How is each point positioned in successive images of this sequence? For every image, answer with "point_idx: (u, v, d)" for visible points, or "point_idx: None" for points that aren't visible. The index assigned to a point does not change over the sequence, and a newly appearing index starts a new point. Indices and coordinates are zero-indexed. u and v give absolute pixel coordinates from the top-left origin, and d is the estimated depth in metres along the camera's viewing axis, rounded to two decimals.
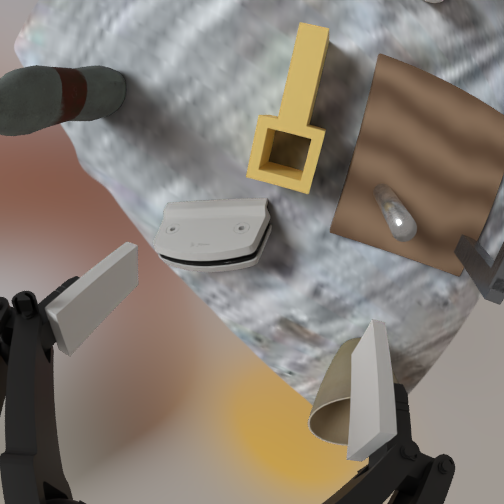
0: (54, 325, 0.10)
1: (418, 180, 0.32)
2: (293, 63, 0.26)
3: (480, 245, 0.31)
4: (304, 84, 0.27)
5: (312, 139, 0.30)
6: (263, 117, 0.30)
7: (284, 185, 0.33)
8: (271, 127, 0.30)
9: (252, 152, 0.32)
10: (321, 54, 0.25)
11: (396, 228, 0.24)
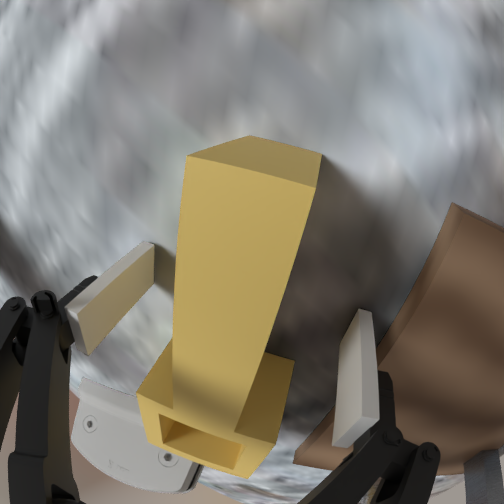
0: (74, 324, 0.10)
1: (444, 426, 0.15)
2: (181, 319, 0.09)
3: (499, 462, 0.14)
4: (221, 373, 0.10)
5: (248, 446, 0.13)
6: (145, 398, 0.13)
7: (208, 466, 0.16)
8: (165, 415, 0.13)
9: (146, 427, 0.15)
10: (273, 303, 0.08)
11: None
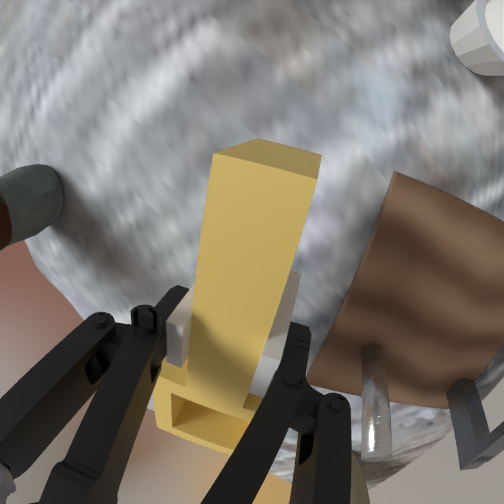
0: (174, 338, 0.11)
1: (418, 337, 0.26)
2: (201, 293, 0.11)
3: (476, 390, 0.25)
4: (234, 345, 0.12)
5: None
6: (159, 377, 0.15)
7: (215, 449, 0.17)
8: (177, 394, 0.15)
9: (157, 410, 0.17)
10: (282, 276, 0.10)
11: (367, 456, 0.17)
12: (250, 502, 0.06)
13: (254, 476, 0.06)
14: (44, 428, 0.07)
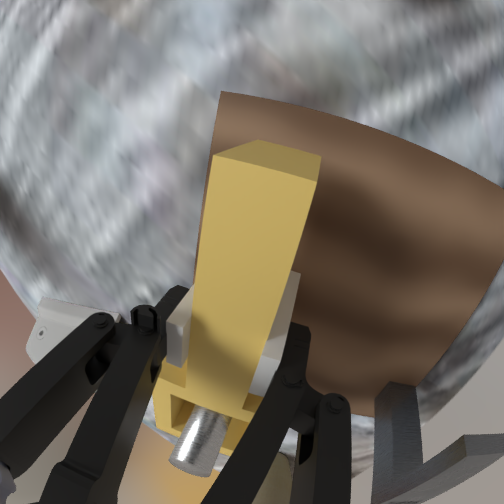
0: (174, 338, 0.11)
1: (306, 319, 0.22)
2: (201, 295, 0.11)
3: (415, 400, 0.21)
4: (233, 346, 0.12)
5: None
6: (159, 379, 0.15)
7: None
8: (177, 395, 0.15)
9: (156, 411, 0.17)
10: (282, 278, 0.10)
11: (176, 464, 0.13)
12: (250, 502, 0.06)
13: (254, 476, 0.06)
14: (44, 428, 0.07)
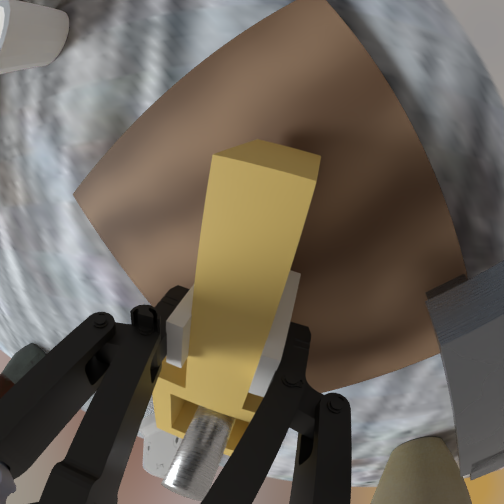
0: (174, 338, 0.11)
1: None
2: (201, 295, 0.11)
3: None
4: (233, 346, 0.12)
5: None
6: (159, 378, 0.15)
7: None
8: (177, 395, 0.15)
9: (156, 410, 0.17)
10: (281, 278, 0.10)
11: (176, 492, 0.12)
12: (250, 502, 0.06)
13: (254, 476, 0.06)
14: (44, 428, 0.07)
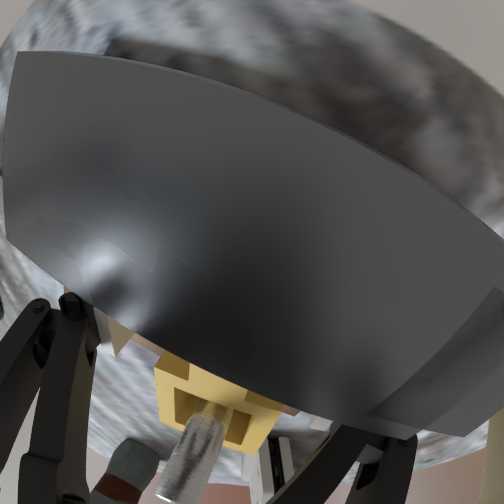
0: (102, 325, 0.11)
1: None
2: None
3: None
4: None
5: (257, 416, 0.15)
6: (163, 372, 0.15)
7: None
8: (180, 388, 0.15)
9: (160, 404, 0.17)
10: None
11: None
12: None
13: None
14: (9, 417, 0.06)
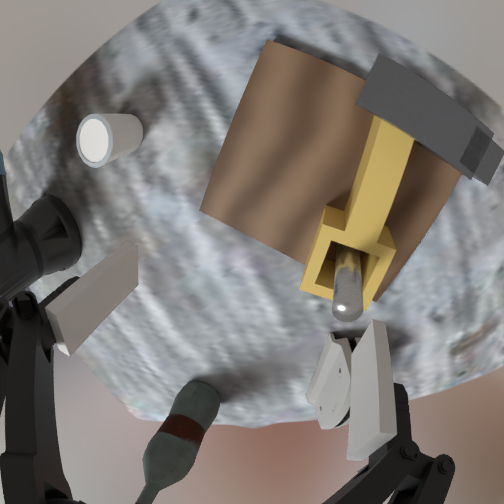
0: (54, 325, 0.10)
1: (340, 198, 0.30)
2: (372, 163, 0.22)
3: None
4: (382, 192, 0.23)
5: (380, 257, 0.26)
6: (327, 227, 0.26)
7: None
8: (336, 240, 0.26)
9: (310, 265, 0.28)
10: (407, 154, 0.21)
11: (344, 316, 0.22)
12: None
13: None
14: None
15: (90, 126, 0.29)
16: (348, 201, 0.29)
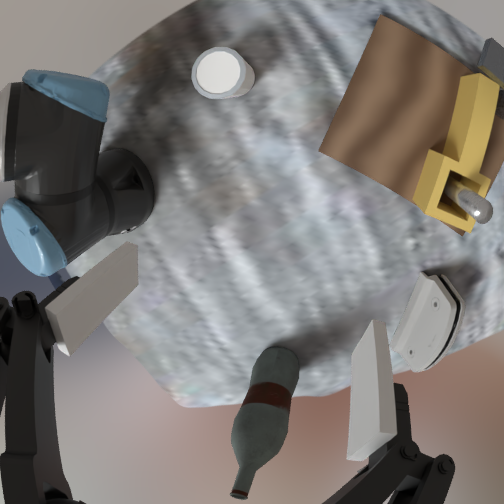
0: (54, 325, 0.10)
1: (439, 144, 0.31)
2: (475, 112, 0.23)
3: (499, 91, 0.23)
4: (481, 133, 0.24)
5: (481, 185, 0.26)
6: (448, 158, 0.26)
7: (454, 224, 0.29)
8: (453, 169, 0.27)
9: (434, 191, 0.29)
10: (494, 108, 0.22)
11: (481, 219, 0.22)
12: None
13: None
14: None
15: (214, 58, 0.29)
16: (447, 146, 0.30)
